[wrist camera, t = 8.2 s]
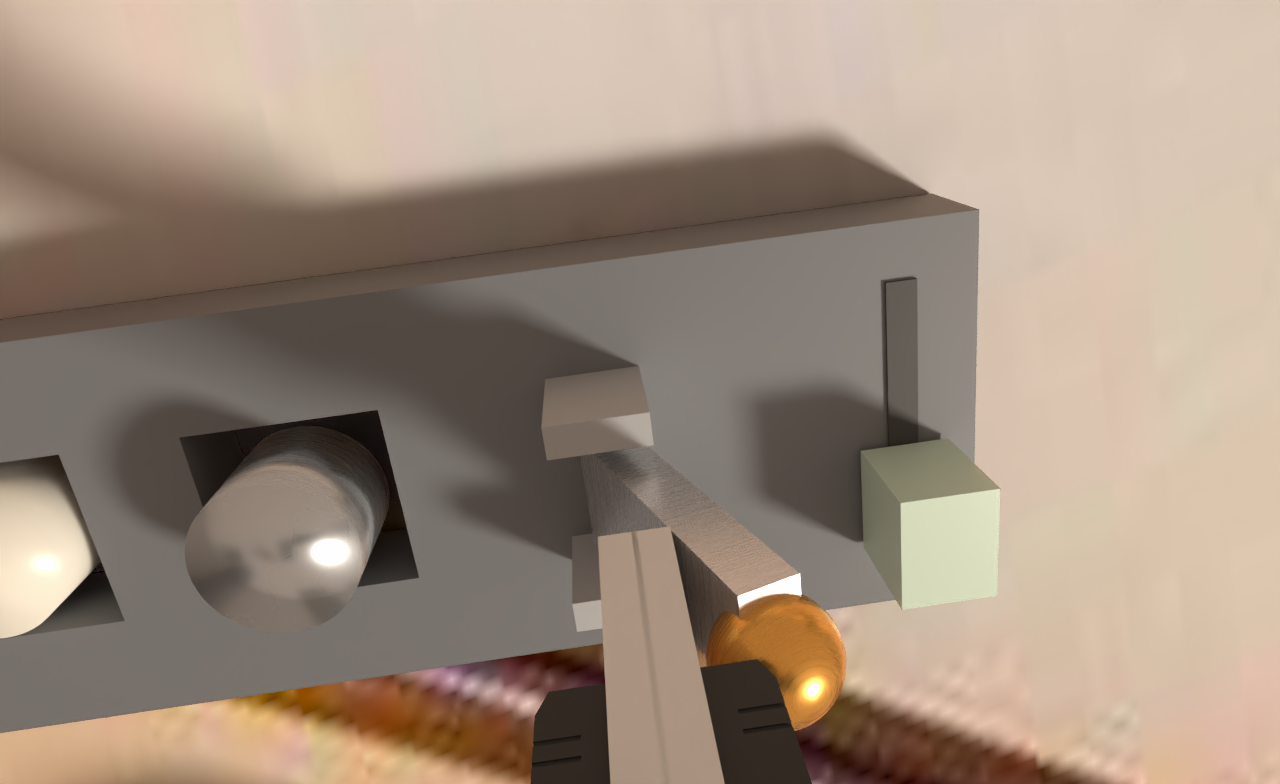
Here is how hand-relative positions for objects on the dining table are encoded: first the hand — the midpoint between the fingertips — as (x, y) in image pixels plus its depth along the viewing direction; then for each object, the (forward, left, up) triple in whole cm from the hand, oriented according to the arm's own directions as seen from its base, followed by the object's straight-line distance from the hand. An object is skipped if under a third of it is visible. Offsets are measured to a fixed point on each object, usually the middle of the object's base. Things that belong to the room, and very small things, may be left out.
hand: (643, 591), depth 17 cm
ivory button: (-17, 0, -9) cm, 19 cm away
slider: (+7, -2, -6) cm, 10 cm away
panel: (-6, 0, -9) cm, 11 cm away
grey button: (-9, 0, -7) cm, 11 cm away
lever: (-1, 0, -5) cm, 5 cm away
